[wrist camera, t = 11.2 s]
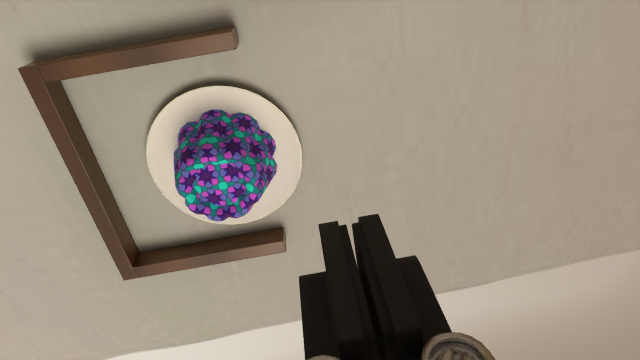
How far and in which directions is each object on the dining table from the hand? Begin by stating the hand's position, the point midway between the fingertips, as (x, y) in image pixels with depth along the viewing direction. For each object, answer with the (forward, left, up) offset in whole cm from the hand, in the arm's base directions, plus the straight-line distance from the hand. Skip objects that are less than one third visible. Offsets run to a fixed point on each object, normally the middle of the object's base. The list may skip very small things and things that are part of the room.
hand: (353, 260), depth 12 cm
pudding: (-8, -6, -22) cm, 24 cm away
